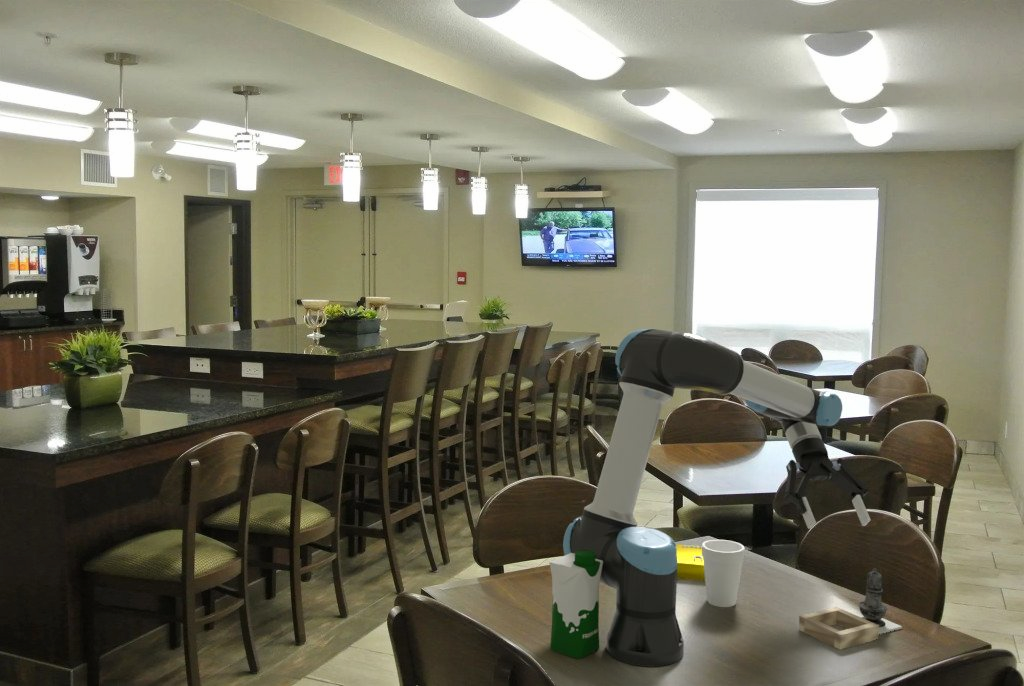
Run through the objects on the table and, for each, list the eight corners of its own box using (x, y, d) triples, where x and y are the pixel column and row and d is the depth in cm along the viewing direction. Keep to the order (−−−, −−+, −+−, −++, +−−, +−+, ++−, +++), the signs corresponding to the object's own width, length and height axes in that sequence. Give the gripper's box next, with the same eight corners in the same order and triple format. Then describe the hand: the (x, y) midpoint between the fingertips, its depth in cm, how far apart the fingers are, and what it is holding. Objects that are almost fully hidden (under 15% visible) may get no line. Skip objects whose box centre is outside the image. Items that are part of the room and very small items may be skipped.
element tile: (724, 564, 232) (725, 546, 232) (724, 584, 218) (724, 564, 217) (665, 559, 236) (666, 541, 235) (661, 578, 221) (661, 559, 221)
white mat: (875, 635, 187) (875, 633, 187) (844, 621, 194) (844, 619, 194) (901, 628, 191) (901, 626, 191) (870, 615, 198) (870, 613, 198)
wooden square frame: (840, 649, 180) (840, 635, 180) (798, 629, 190) (799, 615, 190) (878, 639, 186) (878, 625, 185) (836, 620, 195) (836, 606, 195)
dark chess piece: (889, 629, 189) (892, 573, 188) (859, 626, 191) (862, 571, 190) (884, 618, 195) (887, 564, 194) (855, 615, 196) (858, 562, 195)
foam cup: (732, 613, 199) (733, 555, 198) (693, 603, 204) (695, 547, 203) (749, 600, 206) (751, 544, 205) (711, 591, 212) (713, 537, 211)
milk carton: (580, 662, 174) (582, 561, 172) (543, 649, 179) (544, 551, 177) (605, 647, 180) (607, 550, 179) (569, 635, 186) (570, 540, 184)
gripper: (846, 452, 221) (881, 529, 207) (752, 454, 215) (782, 534, 202) (860, 434, 215) (896, 513, 202) (764, 437, 210) (795, 518, 196)
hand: (839, 524), depth 202 cm, fingers open, 13 cm apart
